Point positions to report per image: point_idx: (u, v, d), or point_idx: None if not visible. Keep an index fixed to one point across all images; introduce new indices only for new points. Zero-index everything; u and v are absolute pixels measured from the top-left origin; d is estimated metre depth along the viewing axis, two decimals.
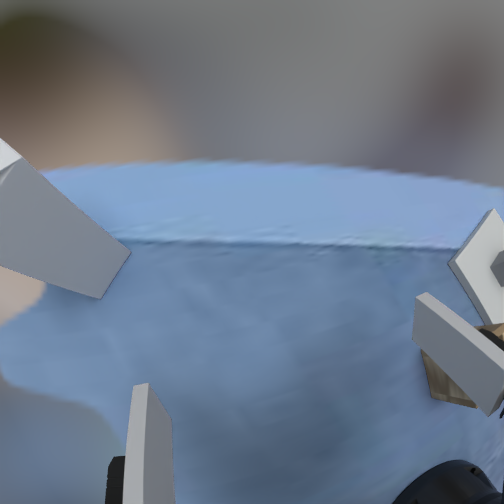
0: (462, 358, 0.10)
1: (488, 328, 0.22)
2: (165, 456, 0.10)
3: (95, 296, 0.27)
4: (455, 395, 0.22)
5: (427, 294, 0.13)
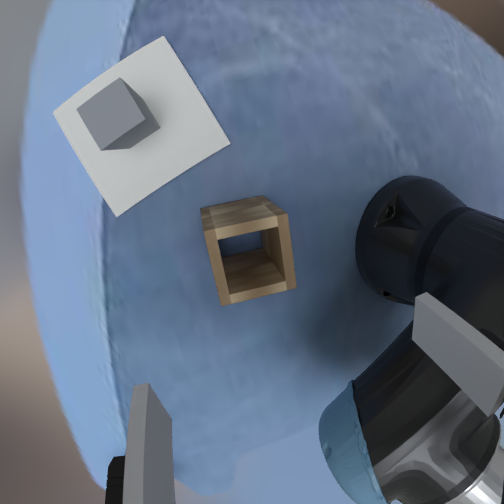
0: (462, 358, 0.10)
1: None
2: (165, 456, 0.10)
3: None
4: None
5: (427, 294, 0.13)
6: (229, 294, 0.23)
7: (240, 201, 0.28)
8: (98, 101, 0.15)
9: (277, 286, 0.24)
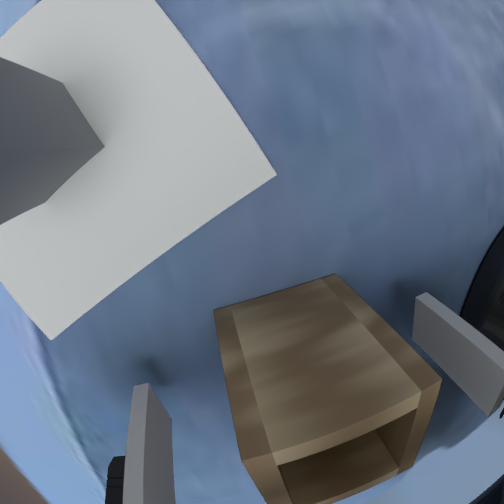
0: (462, 358, 0.10)
1: None
2: (165, 456, 0.10)
3: None
4: None
5: (427, 294, 0.13)
6: None
7: (296, 294, 0.14)
8: None
9: (382, 478, 0.09)
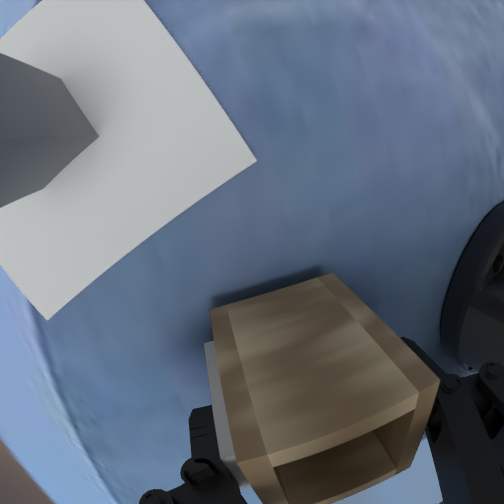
0: None
1: None
2: None
3: None
4: None
5: None
6: None
7: (293, 293, 0.13)
8: None
9: (379, 478, 0.09)
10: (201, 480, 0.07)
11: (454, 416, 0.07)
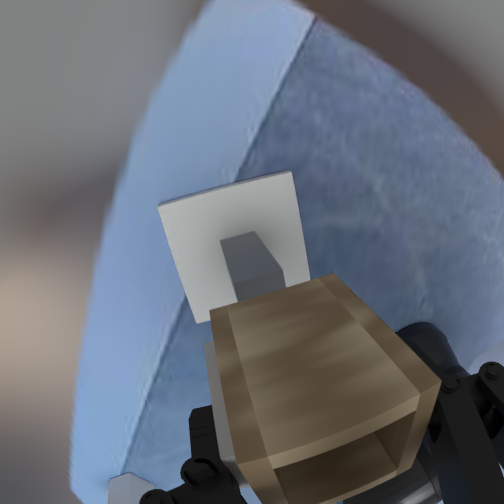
0: None
1: None
2: None
3: None
4: None
5: None
6: None
7: (293, 294, 0.13)
8: (256, 284, 0.19)
9: (380, 479, 0.09)
10: (201, 480, 0.07)
11: (454, 416, 0.07)
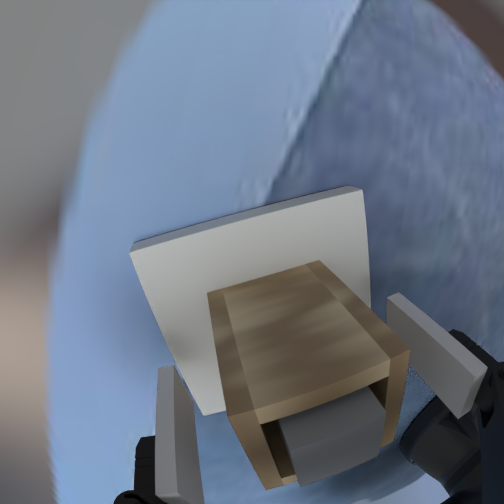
0: (431, 359, 0.11)
1: None
2: (190, 436, 0.11)
3: None
4: None
5: (399, 294, 0.14)
6: (281, 477, 0.10)
7: (282, 278, 0.15)
8: (334, 443, 0.08)
9: None
10: None
11: None
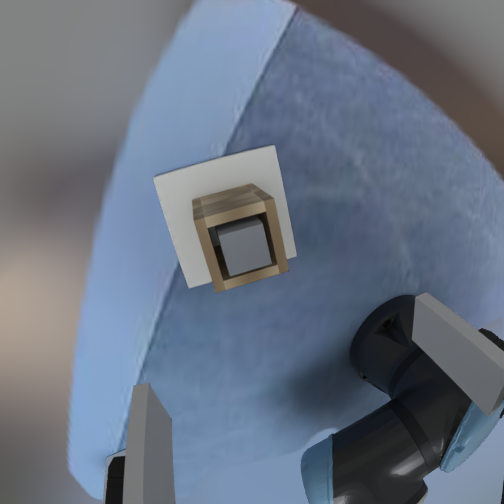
0: (462, 358, 0.10)
1: None
2: (165, 456, 0.10)
3: None
4: None
5: (427, 294, 0.13)
6: (223, 280, 0.24)
7: (230, 190, 0.29)
8: (239, 237, 0.22)
9: (269, 270, 0.24)
10: None
11: None
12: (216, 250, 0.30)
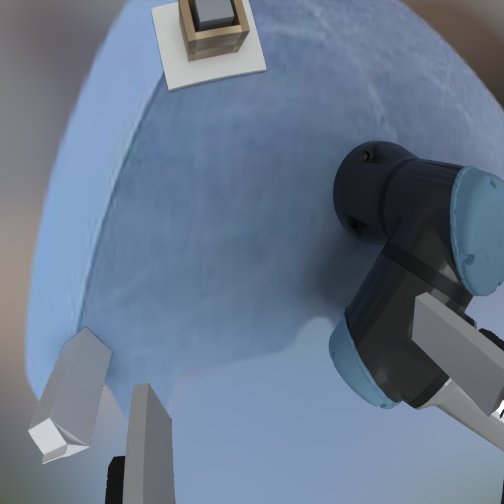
0: (462, 358, 0.10)
1: (179, 8, 0.23)
2: (165, 456, 0.10)
3: (110, 356, 0.42)
4: (235, 41, 0.27)
5: (427, 294, 0.13)
6: (195, 33, 0.23)
7: None
8: None
9: (233, 28, 0.24)
10: None
11: None
12: None
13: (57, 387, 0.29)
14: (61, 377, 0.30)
